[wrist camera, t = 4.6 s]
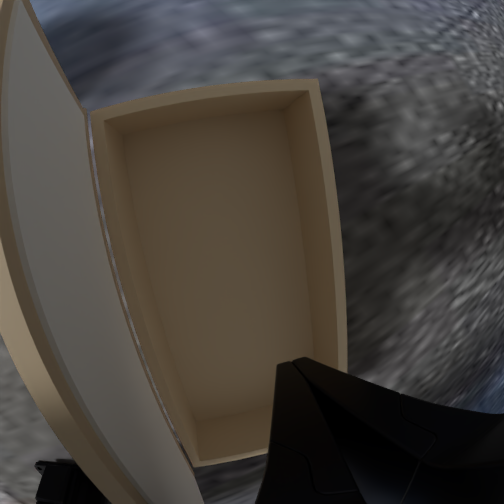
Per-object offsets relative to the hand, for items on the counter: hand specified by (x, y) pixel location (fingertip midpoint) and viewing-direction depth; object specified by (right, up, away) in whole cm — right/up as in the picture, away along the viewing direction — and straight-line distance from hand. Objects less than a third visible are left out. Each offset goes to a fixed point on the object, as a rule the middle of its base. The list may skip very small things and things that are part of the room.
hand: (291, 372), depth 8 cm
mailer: (-2, +2, +8) cm, 8 cm away
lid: (-4, -1, -1) cm, 4 cm away
